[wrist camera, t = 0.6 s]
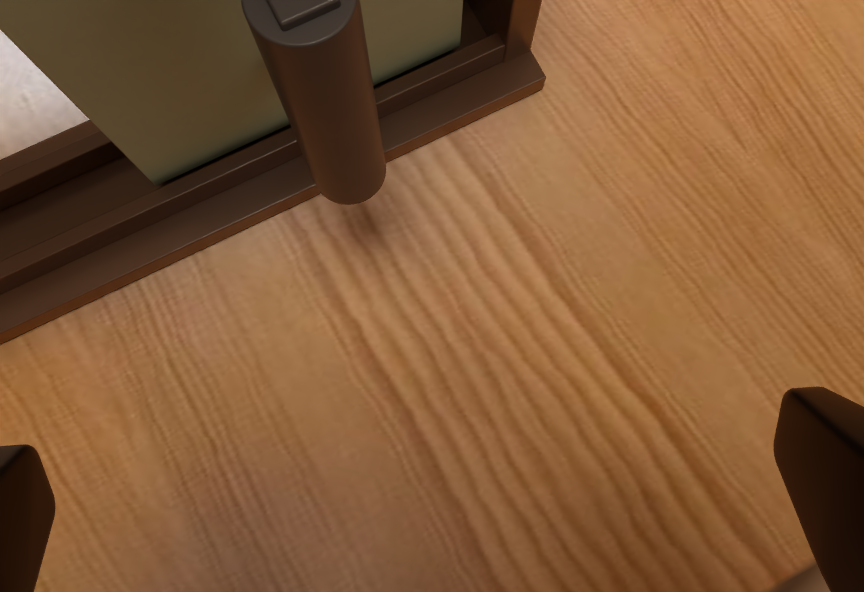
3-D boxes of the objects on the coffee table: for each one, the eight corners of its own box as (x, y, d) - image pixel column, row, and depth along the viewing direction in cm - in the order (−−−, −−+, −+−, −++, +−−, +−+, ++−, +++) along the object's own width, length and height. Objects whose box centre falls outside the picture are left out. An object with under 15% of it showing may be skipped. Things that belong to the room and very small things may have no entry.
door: (529, 168, 23) (629, -138, 11) (215, 319, 22) (-29, 155, 10) (443, 14, 24) (452, -412, 12) (140, 152, 23) (-160, -168, 11)
